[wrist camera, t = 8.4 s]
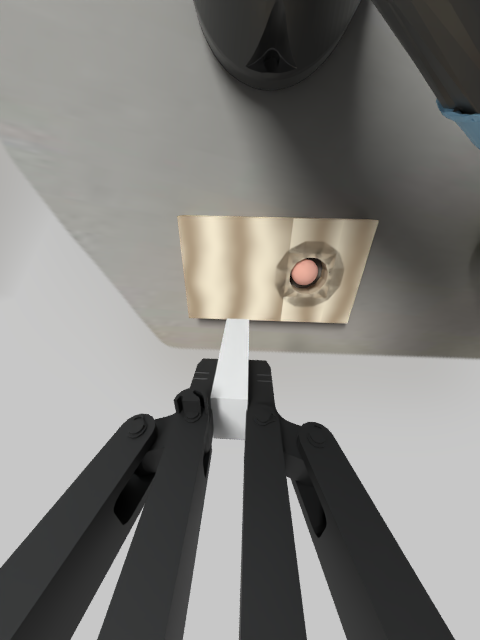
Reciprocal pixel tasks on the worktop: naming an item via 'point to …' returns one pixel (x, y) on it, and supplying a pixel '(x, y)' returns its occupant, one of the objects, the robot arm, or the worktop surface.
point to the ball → (304, 272)
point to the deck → (272, 266)
